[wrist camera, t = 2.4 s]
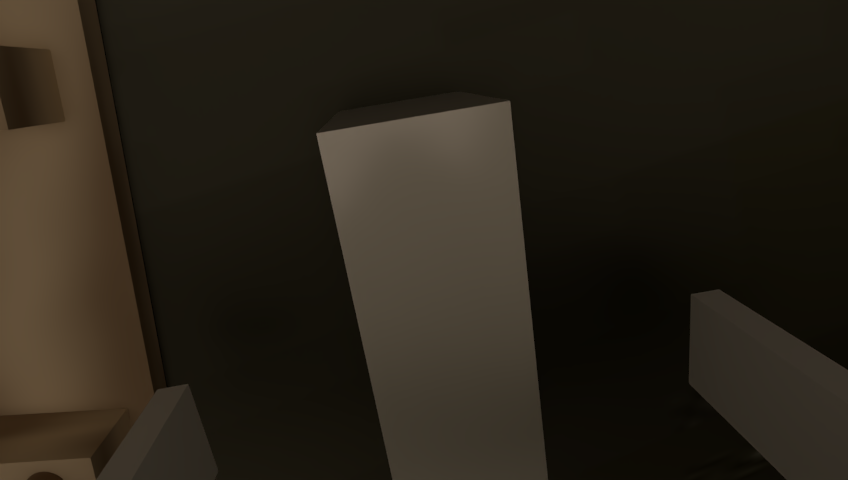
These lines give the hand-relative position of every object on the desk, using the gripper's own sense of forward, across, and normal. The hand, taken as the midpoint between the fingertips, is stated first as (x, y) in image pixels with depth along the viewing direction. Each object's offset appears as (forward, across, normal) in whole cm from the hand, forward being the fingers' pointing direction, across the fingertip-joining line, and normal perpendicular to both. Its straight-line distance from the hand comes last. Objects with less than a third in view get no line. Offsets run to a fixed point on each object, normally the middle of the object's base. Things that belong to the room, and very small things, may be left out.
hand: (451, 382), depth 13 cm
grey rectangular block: (+6, 0, 0) cm, 6 cm away
